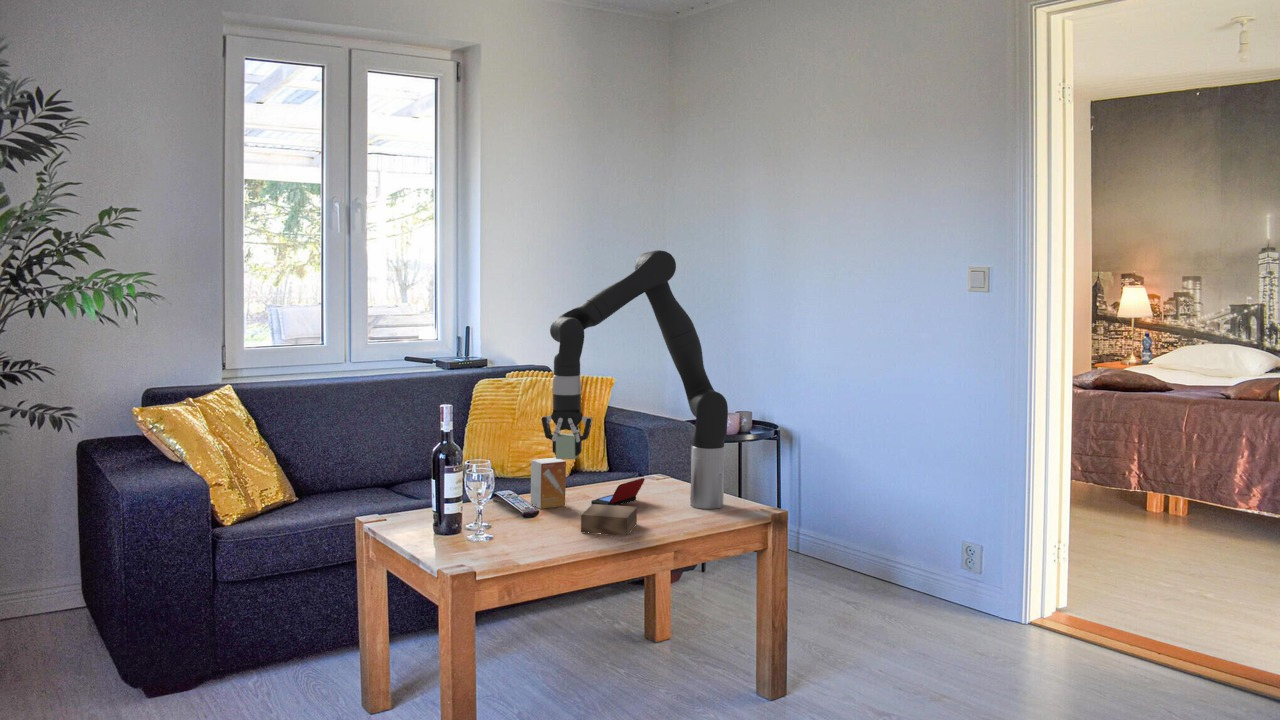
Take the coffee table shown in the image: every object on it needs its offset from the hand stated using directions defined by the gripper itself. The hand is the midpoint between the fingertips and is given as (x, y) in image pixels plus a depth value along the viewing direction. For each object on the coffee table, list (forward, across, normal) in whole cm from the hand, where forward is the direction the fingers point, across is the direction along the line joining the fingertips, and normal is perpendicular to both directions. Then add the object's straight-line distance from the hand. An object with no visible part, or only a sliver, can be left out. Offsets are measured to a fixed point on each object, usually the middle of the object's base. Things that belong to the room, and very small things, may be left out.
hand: (566, 454), depth 267 cm
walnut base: (+18, -13, +9) cm, 24 cm away
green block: (+1, 0, 0) cm, 1 cm away
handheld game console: (+18, -10, -20) cm, 28 cm away
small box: (+17, +8, -12) cm, 23 cm away
